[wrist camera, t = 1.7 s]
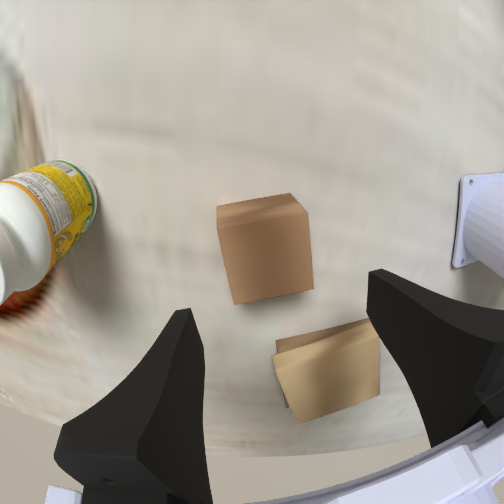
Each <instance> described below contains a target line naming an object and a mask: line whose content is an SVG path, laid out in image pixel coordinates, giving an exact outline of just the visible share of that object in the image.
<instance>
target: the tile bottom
mask: <svg viewBox="0 0 504 504" xmlns="http://www.w3.org/2000/svg"><path fill="white" fill-rule="evenodd" d="M368 322H370V323H371V321H370V319H369V318H367V319H363V320H360V321H356V322H352V323H348V324H344V325H340V326H336V327H332V328H328V329H324V330H320V331H316V332H311V333H307V334H303V335H298V336H293V337H289V338H284V339H279V340H276V345H277V352H278V354H280V353H283V352H287V351H290V350H293V349H296V348H299V347H302V346H305V345H308V344H311V343H314V342H317V341H320V340H322V339H325V338H328V337H331V336H334V335H336V334H339V333H342V332H345V331H347V330H350V329H353V328H355V327H358V326H360V325H363V324H365V323H368ZM371 325H372V323H371ZM372 326H373V325H372ZM373 328H374V327H373ZM283 394H284V392H283ZM284 400H285V404H286V408H289V407H290V406H289V404H288V401H287V399H286V397H285V394H284Z"/></svg>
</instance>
